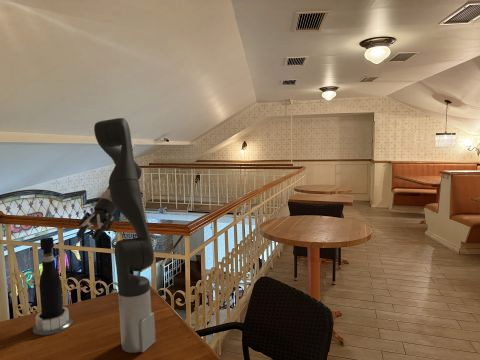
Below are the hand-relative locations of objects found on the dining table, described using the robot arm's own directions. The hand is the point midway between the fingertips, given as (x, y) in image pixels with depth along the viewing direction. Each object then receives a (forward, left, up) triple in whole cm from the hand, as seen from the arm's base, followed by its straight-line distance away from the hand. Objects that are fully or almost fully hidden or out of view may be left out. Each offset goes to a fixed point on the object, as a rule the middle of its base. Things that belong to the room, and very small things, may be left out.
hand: (86, 238), depth 123 cm
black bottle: (+3, +13, -27) cm, 30 cm away
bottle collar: (+3, +14, -28) cm, 31 cm away
